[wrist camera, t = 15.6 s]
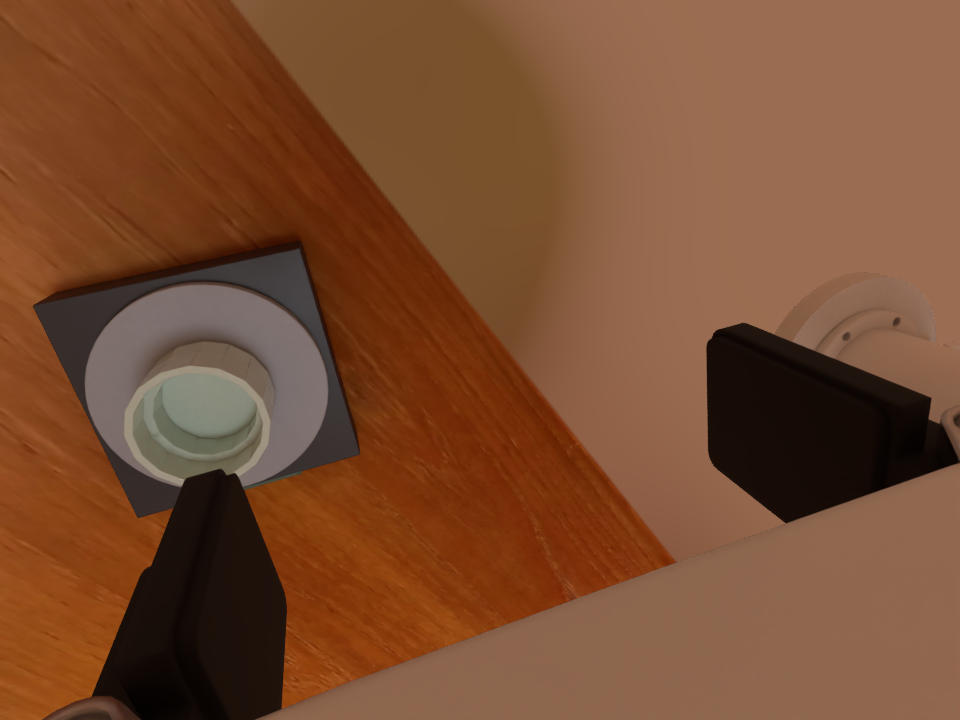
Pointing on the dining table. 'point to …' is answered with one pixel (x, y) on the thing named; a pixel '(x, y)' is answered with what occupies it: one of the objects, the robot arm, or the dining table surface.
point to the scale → (212, 318)
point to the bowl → (201, 412)
